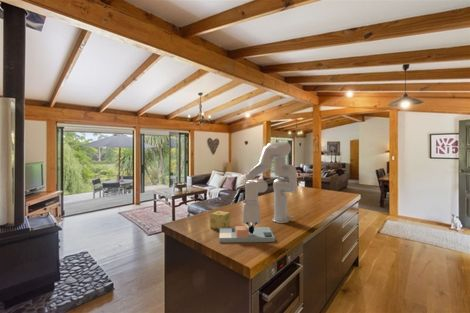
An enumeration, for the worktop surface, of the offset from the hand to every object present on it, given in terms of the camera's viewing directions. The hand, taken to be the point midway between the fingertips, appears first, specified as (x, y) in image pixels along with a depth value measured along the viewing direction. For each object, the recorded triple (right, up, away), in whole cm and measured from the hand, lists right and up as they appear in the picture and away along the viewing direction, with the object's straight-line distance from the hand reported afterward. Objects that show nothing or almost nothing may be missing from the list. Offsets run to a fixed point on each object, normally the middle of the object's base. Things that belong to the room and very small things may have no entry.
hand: (251, 232), depth 138 cm
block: (-6, -1, -2) cm, 6 cm away
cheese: (-20, -3, +21) cm, 29 cm away
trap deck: (-3, -3, +4) cm, 6 cm away
